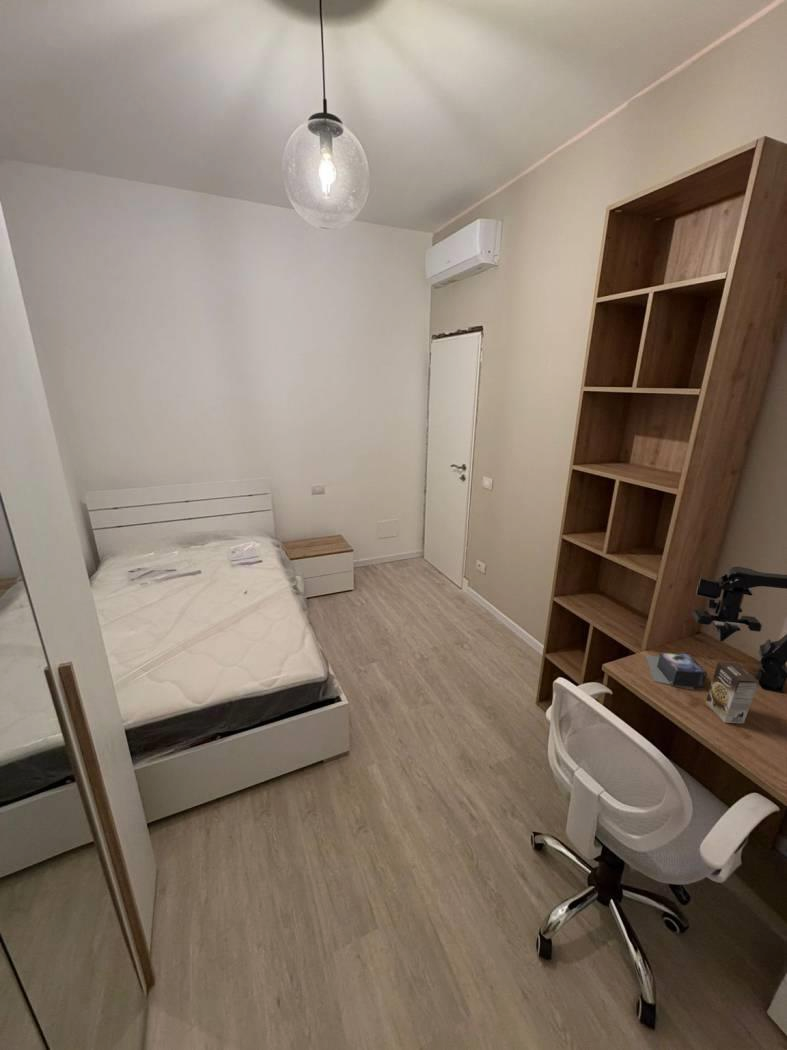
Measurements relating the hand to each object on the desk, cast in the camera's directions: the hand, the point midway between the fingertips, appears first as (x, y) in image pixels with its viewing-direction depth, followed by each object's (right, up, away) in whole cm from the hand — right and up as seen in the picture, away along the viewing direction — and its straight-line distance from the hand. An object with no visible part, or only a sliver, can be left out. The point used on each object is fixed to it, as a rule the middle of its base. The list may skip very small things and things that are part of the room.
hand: (720, 640), depth 151 cm
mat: (-18, -12, +2) cm, 21 cm away
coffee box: (-12, -19, -17) cm, 28 cm away
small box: (-11, -10, -3) cm, 14 cm away
